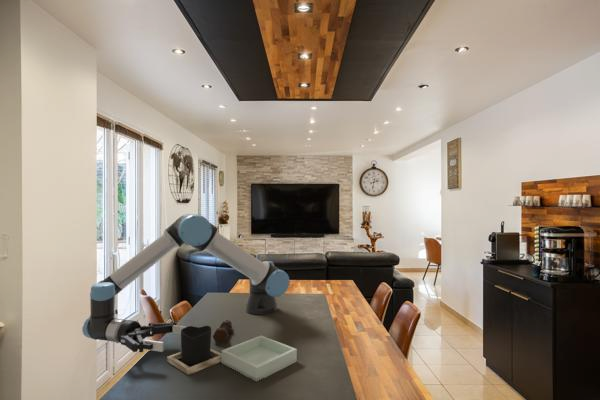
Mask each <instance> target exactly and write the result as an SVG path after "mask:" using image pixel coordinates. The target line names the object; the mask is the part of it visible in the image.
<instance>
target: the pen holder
mask: <svg viewBox="0 0 600 400" xmlns="http://www.w3.org/2000/svg"><path fill="white" fill-rule="evenodd" d="M211 342H212V327H211V326H210V325H203V326H198V327H197V326H193V325H189V326H185V328H183V329H182V330H181V335H180V347H181V349H180V350H181V351H180V352H181V354H182V358H181V362H182V363H184V364H186V365H187V366H189V367H192V366H194V365H197V364H199V363H202V362H204V361H207V360H209V359H211V356H210V348H211V345H212V344H211Z"/></svg>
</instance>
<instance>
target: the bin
mask: <svg viewBox="0 0 600 400" xmlns="http://www.w3.org/2000/svg"><path fill="white" fill-rule="evenodd" d="M297 352H298V349H297V348H295V347H293V346H290V345H287V344H285V343H282V342H280V341H277V340H274V339H272V338H270V337H266V336H264V335H259V336H255V337H254V338H250V339H248V340H245V341H243V342H240V343H238V344H234V345H233V346H231V347H227V348H225V349H222V350H221V362H220V363H221V365H225V366H226V367H228V368H230V369H231V368H232V370H233V369H234V370H233V371H235V370H236V372H237V371H238V373H239V372H240V374H241V375H242V376H244V377H247V378H248V379H250V378H251V380H252V381H255V382H259V380H260V381H261V379H262V380H264V379H266V378H267V377H269V376H271V375H273V374H275V373H277V372H279V371H281V370H283V369H285V368H287V367H289V366H290V365H292V364H295V363H296V362H297V361H298V359H297V357H298V353H297ZM263 378H264V379H263Z"/></svg>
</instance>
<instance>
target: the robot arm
mask: <svg viewBox="0 0 600 400" xmlns="http://www.w3.org/2000/svg"><path fill="white" fill-rule="evenodd" d="M185 244H187V245H189V246H190V247H192V248H193V249H196V250H197V251H198V252H200V253H203V252H207V253H209V254H210V255H213V256H214V257H215V258H217V259H218V260H220V261H221V262H224V263H225V264H227V265H228V266H230V267H231V268H233V269H235V270H236V271H237V272H239V273H241V274H243V276H246V277H247V278H249V280H248V281H249V294H248V296H247V300H246V304H245V312H247V313H248V314H252V315H268V314H269V315H270V314H273V313H275V312H277V310H278V303H277V299H276V298H278V297H281V296H282V295H284V294H286V292H287V291H288V289H289V286H290V276H289V274H288V273H287V272H285V271H284V270H282V269H280V268H278V267H277V266H275V264H274V261H270V260H269V261H268V260H265V261H262V260H260V259H258V258H257V257H256V256H253V255H252V254H251V253H249V252H248V251H247V250H245V249H243V248H241V246H238V245H237V244H236V243H234V242H233V241H231V240H230V239H229V238H226V236H224V235H222V234H221V233H219V228H218V226H216V225H214V224H213V223H211V222H210V221H209V220H208V219H207V218H206V217H204V216H203V215H201V214H195V213H194V214H192V213H185V214H182V215H181V216H179V217H178V218H177V219H176V220H175V221H173V223H171V224H170V225H169V226H168V227H166V228H165V229H164V231H163V234H162V235H161V236H159V237H158V238H157V239H155V240H154V241H153V242H151V243H150V244H149V245H147V246H146V247H145V248H143V249H142V250H141V251H140V252H138V253H136V254H135V256H133V257H131V259H129V260H128V261H126V262H125V263H124V264H123V265H121V266H119V268H117V269H116V270H114V271H113V272H112V273H111V274H109V276H106V278H104V279H103V280H100V281H98V282H97V283H95V284H92V286H91V287H90V293H89V297H90V298H89V301H90V305H89V307H90V315H89V317H88V318H87V319H85V321H84V322H83V326H82V334H83V335H84V336H85V338H89V339H92V340H99V341H107V342H113V343H116V344H120V345H123V346H125V347H127V348H128V349H129V350H130V351H132V352H133V353H137V352H139V353H143V352H144V350H147V351H153V352H161V353H163V352H164V341H160V340H159V341H157V340H151V339H146V338H150V337H154V336H155V335H162V334H169V333H172V334H173V335H180V336H181V330H182V329H183V328H185V327H186V326H184V325H178V323H177V322H175V321H172V322H156V323H154V322H149V323H148V325H141V324H140V322H138V321H136V320H130V319H124V318H123V319H122V318H116V317H115V306H116V303H115V302H116V300H115V299H116V296H117V295H118V294H119V293H120V292H122V290H124V289H125V288H126V287H128V286H129V285H130V284H131V283H133V282H134V281H135V280H136V279H138V278H139V277H140V276H141V275H143V274H145V272H147V271H148V270H149V269H151V268H152V267H153V266H155V264H157V263H158V262H160V261H161V260H162V259H163V258H165V257H166V256H167V255H168V254H169V253H170V252H172V251H173V250H174V249H179V248H181V247H182V246H184V245H185Z"/></svg>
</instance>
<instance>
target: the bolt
mask: <svg viewBox="0 0 600 400" xmlns="http://www.w3.org/2000/svg"><path fill="white" fill-rule="evenodd" d="M232 324H233V323H232V322H231V321H230V320H225V321H222V323H221V324H220V326H219V328H216V329H215V331H214V333H213V335H212V338H213V340H214V342H215V343H216V344H225V343H226V341H227V340H228V338H229V336H230V335H229V333H230V332H231V330H232V328H233V325H232Z"/></svg>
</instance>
